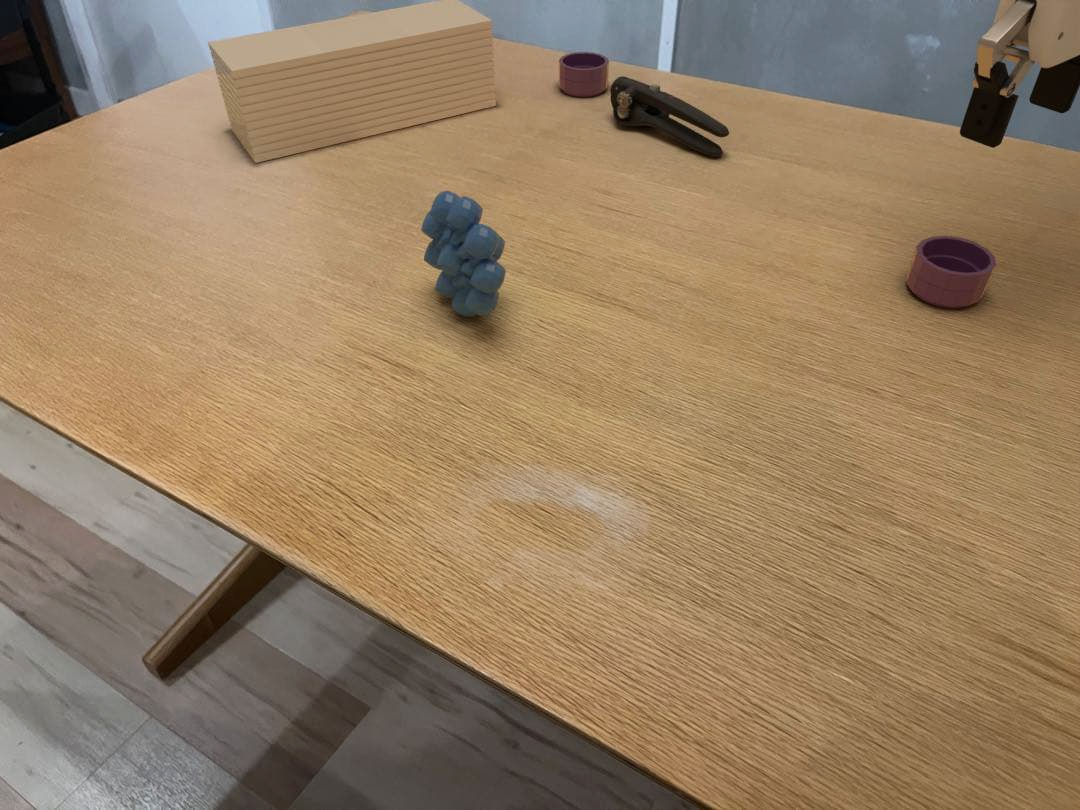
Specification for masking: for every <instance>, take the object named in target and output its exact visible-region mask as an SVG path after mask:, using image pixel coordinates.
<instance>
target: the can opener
mask: <svg viewBox="0 0 1080 810" xmlns="http://www.w3.org/2000/svg"><path fill="white" fill-rule="evenodd" d="M609 90H610V103H611V107H612V111H613V113H612V115H613V118H614V120H615V122H617V123H618V124H620V125H623V126H627V127H644V126H645V127H646V126H647V127H648V126H649V127H653V128H655V129H657V130H660V131H661V132H663V133H664V134H666V135H668V136H670V137H672V138H673V139H674V140H676V141H678V142H679V143H681V144H682V145H684V146H686V147H688V148H689V149H692V150H694V151H696V152H698V153H701V154H703V155H707V156H709V157H713V158H716V157H719V156H721V155H723V152H724V151H723V148H722V147H721V146H720V144H718V143H716V142H714V141H713V140H711V139H710V138H708V137H706V136H704V135H702V134H701V133H699V132H697V131H696V130H694V129H692V128H690V127H688V126H687V125H684V124H682V123H681V122H679V121H677V120H676V119H680V120H681V121H684V122H686V123H688V124H690V125H692V126H694V127H697V128H698V129H700V130H703V131H705V132H706V133H709V134H710V135H713V136H715V137H718V138H726V137H728V136H729V135H730V131H729V128H728V127H727V126H726V125H724V124H723V123H721V122H720V121H719V120H717V119H715V117H712V116H711V115H709V114H708V113H706V112H705V111H703V110H701V109H699V108H698V107H695V106H694V105H692V104H690V103H688V102H686V101H685V100H683V99H681V98H679V97H677V96H675V95H673V94H670V93H669V92H666V91H662V90H661V86H660V85H658V84H655V83H654V84H647V83H644V82H642V81H638V80H637V79H633V78H630V77H627V76H618V77H617V78H615V79H614V80H613V82H612V83H611V86H610V89H609ZM670 116H672V117H674V118H676V119H674V118H671V117H670Z"/></svg>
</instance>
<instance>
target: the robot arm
mask: <svg viewBox="0 0 1080 810" xmlns="http://www.w3.org/2000/svg"><path fill="white" fill-rule="evenodd" d="M1019 46H1020V47H1024V48H1027V49H1028V50H1026V49H1022V48H1019ZM1003 60H1005V61H1008V62H1012V63H1015V64H1016V65H1015V67H1014V68H1013V69H1012V71H1011V72H1010V73H1009V72H1008V69H1007V64H1006V63H1005V62H1002V61H1003ZM1035 63H1037V65H1038V67H1040V70H1039V72H1038V74H1037V78H1036V79H1035V82H1034V85H1033V87H1032V90H1031V93H1030V95H1029V100H1028V101H1029V103H1030V104H1032V105H1035V106H1038V107H1041V108H1044V109H1047V110H1050V111H1052V112H1056V113H1058V114H1065V113H1067V112H1069V111H1070V110H1071V108H1072V105H1073V104H1074V102H1075V99H1076V96H1077V95H1078V91H1079V89H1080V0H1000V1H999V4H998V7H997V10H996V14H995V17H994V20H993V23H992V26H991V27H990V28H989V29H988V30H987V31H986V32H985V33H984V34H983V35H982V36H981V38H980V39H979V41H978V42H977V46H976V62H975V63H974V67H973V73H974V77H973V79H972V83H971V85H972V87H973V90H972V92H971V95H970V98H969V102H968V105H967V107H966V111H965V114H964V116H963V120H962V123H961V125H960V129H959V134H960V136H961V137H963V138H965V139H966V140H967V139H968V140H970V141H973V142H975V143H978V144H981V145H984V146H986V147H989V148H993V149H994V148H997V147H998V146H1000V145H1001V144H1002V143H1003V140H1004V138H1005V137H1004V136H1005V134H1006V131H1007V129H1008V126H1009V124H1010V122H1011V119H1012V115H1013V113H1014V109H1015V107H1016V104H1017V102H1018V99H1019V97H1020V96H1019V95H1018V94H1015V92H1016V90H1017V89H1018V87H1019V86H1020V84H1021V83H1022V82H1023V81H1024V79H1025V77H1026V76H1027V74H1028V73H1029V72H1030V70H1031V68H1032V67H1033V66H1034V65H1035Z"/></svg>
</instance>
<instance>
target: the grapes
mask: <svg viewBox="0 0 1080 810" xmlns="http://www.w3.org/2000/svg"><path fill="white" fill-rule="evenodd" d="M483 210H484V208H483V207H482V206H481V205H480V204H479V202H477V201H476V200H475V199H473V198H471V197H468V196H466V195H463V196H459V195H458V194H456V193H455V192H452V191H450V190H443V191H440V192H439V193H438V194H437V195H436V196H435V198H434V200H433V202H432V205H431V207H430V210H429V211H428V212H427V213H426V215H425V217H424V218H423V222H422V225H421V232H423V234H424V235H425V236H426V237H428V238H429V239H431V240H430V242H429V243H428V244H427V246H426V249H425V251H424V256H423V261H424V262H425V263H427V264H428V266H430V267H431V268H433V269H436V270H439V271H441V272H440V273H439V275H438V277H437V279H436V283H435V288H434V290H435V291H436V292H438V293H439V294H440V295H441V296H443V297H445V298H447V299H450V300H452V301H451V302H452V303H451V306H450V308H451V309H452V310H453V311H454V312H456V313H457V314H459V315H461V316H463V317H466V318H467V317H469V318H470V317H475V316H476V315H479V316H489V315H490V314H491V313H493V312H494V311H495V310H496V308H497V305H498V303H499V298H500V292H499V290H500V289H501V288H502V286H503V283H504V282H505V278H506V272H507V269H506V268H505V267H504V266H503V265H501V264H500V263H499V262H498V261H499V260H500V259H501V258H502V256H503V253H504V251H505V246H506V241H505V240H504V238H503V237H502V236H500V234H498V232H497V231H495V229H493V228H492V227H491V226H488V225H486V224H483V223H480V222H481V220H482V216H483Z"/></svg>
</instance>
